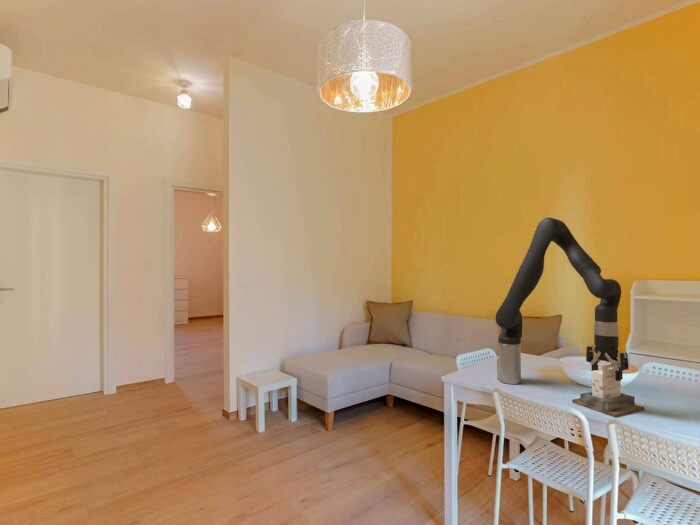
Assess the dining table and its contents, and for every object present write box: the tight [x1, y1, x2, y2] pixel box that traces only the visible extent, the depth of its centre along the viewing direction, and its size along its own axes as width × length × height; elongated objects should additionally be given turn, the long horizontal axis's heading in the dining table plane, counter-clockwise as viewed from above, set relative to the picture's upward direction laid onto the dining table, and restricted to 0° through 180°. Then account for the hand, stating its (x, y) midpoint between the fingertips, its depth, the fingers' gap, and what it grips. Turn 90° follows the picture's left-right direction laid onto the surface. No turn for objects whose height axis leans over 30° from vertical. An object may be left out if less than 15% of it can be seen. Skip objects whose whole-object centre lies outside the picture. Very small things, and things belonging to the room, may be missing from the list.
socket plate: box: [571, 390, 645, 418], centre depth 145 cm, size 16×16×4 cm
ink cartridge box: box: [591, 363, 622, 400], centre depth 146 cm, size 9×5×15 cm, turn 107°
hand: (606, 377), depth 146 cm, fingers open, 8 cm apart
